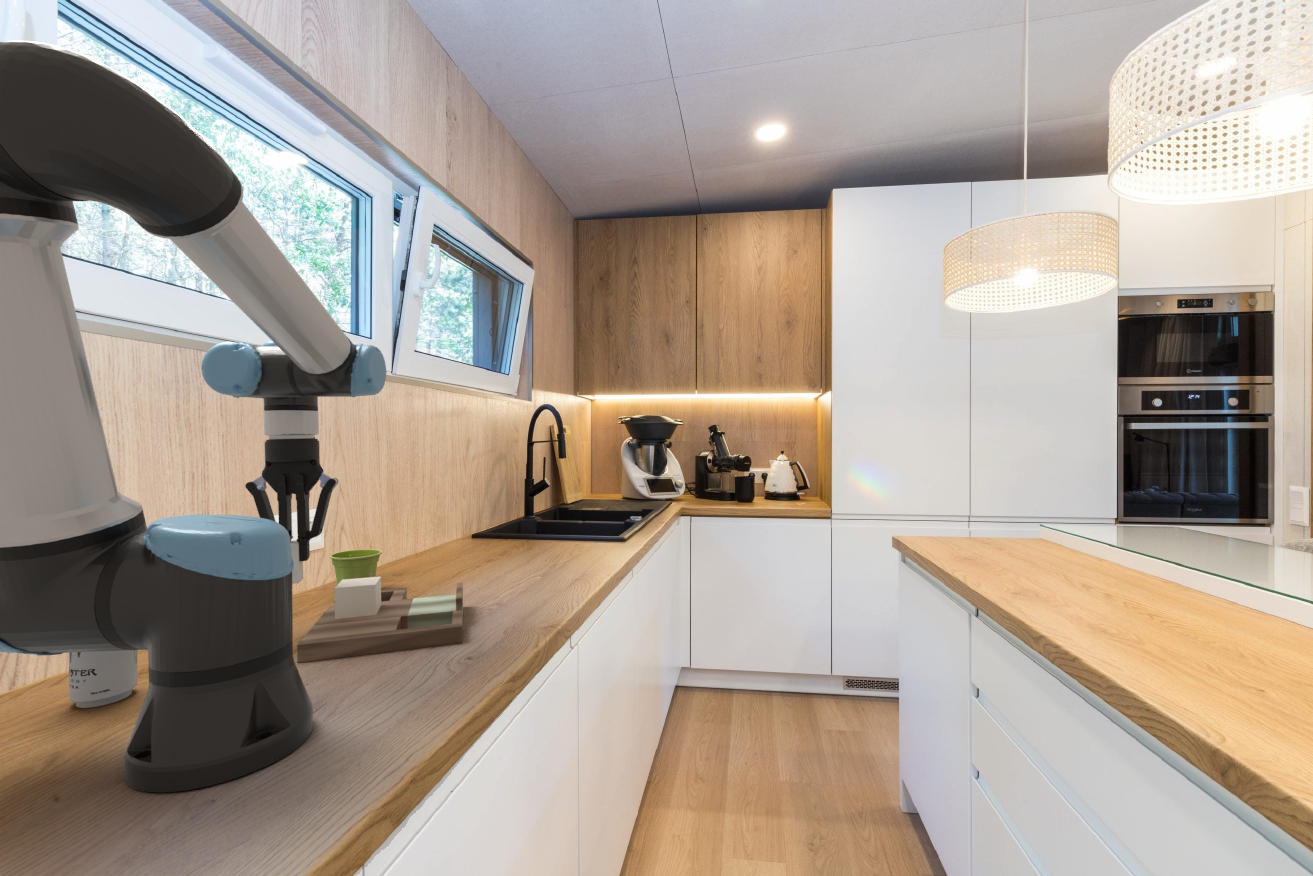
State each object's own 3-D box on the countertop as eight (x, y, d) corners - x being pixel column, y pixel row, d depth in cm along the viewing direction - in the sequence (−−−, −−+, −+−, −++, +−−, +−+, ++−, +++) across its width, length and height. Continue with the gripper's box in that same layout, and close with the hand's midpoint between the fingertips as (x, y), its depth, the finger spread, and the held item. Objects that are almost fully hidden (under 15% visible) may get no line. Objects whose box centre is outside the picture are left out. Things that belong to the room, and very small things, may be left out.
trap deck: (462, 642, 87) (461, 613, 87) (297, 662, 80) (297, 630, 80) (463, 594, 115) (463, 572, 115) (340, 606, 108) (340, 582, 108)
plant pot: (374, 587, 122) (373, 547, 122) (388, 595, 115) (388, 552, 115) (325, 596, 116) (324, 553, 116) (337, 605, 109) (336, 560, 109)
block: (376, 614, 94) (375, 584, 94) (335, 619, 92) (334, 588, 92) (381, 605, 100) (380, 576, 100) (342, 608, 98) (342, 579, 98)
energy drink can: (59, 705, 68) (57, 580, 68) (122, 684, 74) (121, 569, 74) (84, 714, 66) (82, 584, 66) (148, 692, 71) (146, 572, 71)
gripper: (341, 436, 99) (345, 572, 99) (253, 438, 94) (257, 579, 95) (332, 436, 91) (335, 583, 92) (236, 438, 87) (240, 591, 88)
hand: (295, 581), depth 93 cm, fingers closed
